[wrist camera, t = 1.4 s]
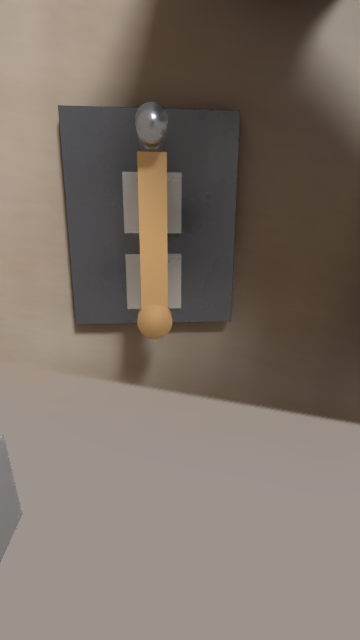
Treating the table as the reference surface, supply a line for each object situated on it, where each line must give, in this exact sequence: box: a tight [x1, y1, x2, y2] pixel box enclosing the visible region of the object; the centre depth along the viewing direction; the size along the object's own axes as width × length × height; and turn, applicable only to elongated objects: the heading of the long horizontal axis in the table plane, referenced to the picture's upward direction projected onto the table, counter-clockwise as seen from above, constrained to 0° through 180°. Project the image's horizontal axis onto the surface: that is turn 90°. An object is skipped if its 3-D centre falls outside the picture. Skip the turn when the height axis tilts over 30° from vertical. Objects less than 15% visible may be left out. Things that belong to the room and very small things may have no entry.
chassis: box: [58, 102, 240, 324], centre depth 24 cm, size 16×13×8 cm
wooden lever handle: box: [137, 151, 172, 339], centre depth 23 cm, size 12×2×2 cm, turn 0°
